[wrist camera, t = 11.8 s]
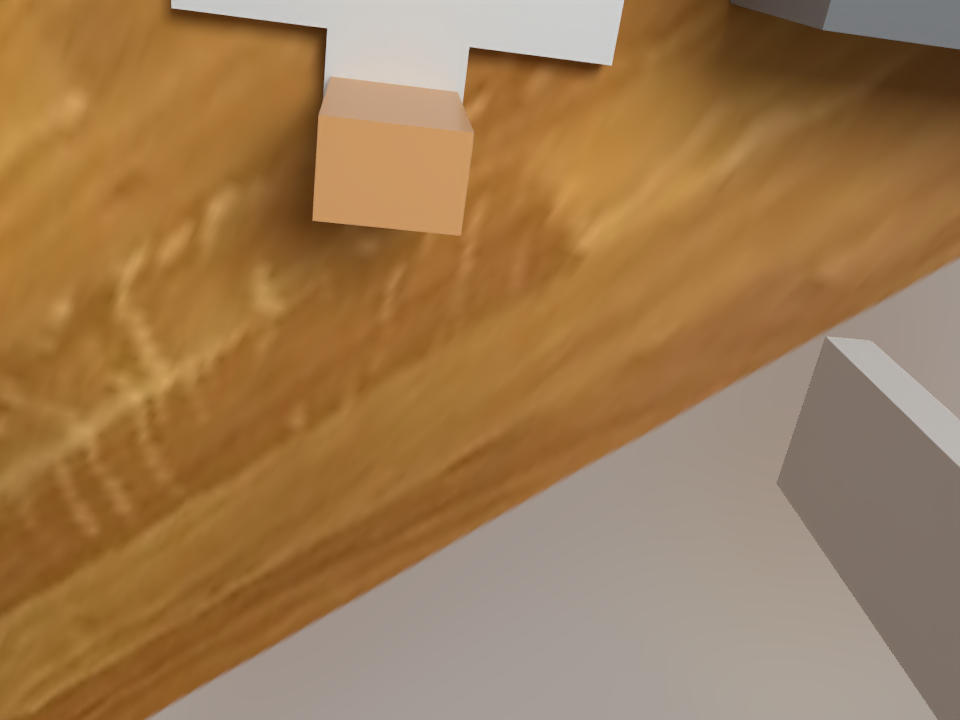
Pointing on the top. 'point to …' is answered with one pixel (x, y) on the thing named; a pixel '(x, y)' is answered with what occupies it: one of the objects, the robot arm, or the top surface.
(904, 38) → the tub
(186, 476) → the top surface
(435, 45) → the lid
